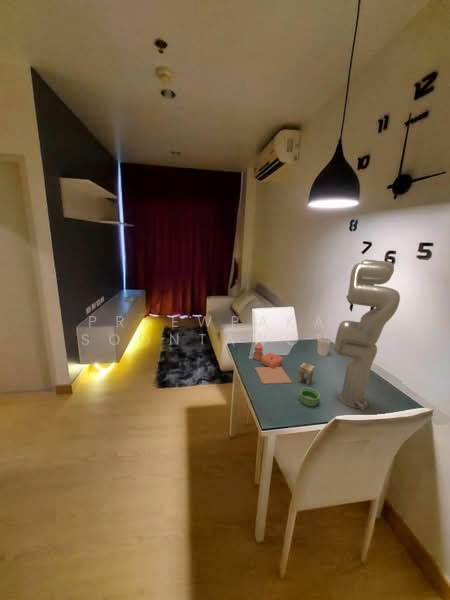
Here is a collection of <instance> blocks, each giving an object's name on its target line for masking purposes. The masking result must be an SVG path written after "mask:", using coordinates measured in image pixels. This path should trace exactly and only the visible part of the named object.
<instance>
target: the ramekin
mask: <svg viewBox="0 0 450 600" xmlns="http://www.w3.org/2000/svg"><path fill="white" fill-rule="evenodd" d="M320 398H321V395H320V393H319V392H318V391H317V390H315V389H314V388H310V387H303V388H301V389H300V391H299V401H300V402H301V403H302V404H303V405H304V406H307V407H315V406H317V405H318V404H319V399H320Z"/></svg>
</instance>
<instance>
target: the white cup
mask: <svg viewBox="0 0 450 600" xmlns="http://www.w3.org/2000/svg"><path fill="white" fill-rule="evenodd" d="M331 343H332V341H331V339H328V338H325V337H319V338H318V340H317V350H316V351H317V355H319V356H322V357H326V356H328V355H329V352H330V347H331Z"/></svg>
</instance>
